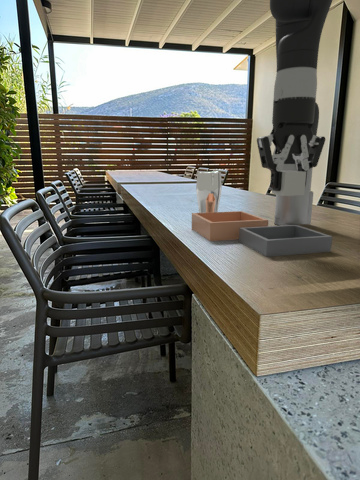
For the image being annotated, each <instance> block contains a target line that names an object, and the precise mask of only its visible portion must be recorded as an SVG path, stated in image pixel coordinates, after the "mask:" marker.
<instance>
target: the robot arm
mask: <svg viewBox="0 0 360 480" xmlns="http://www.w3.org/2000/svg"><path fill="white" fill-rule="evenodd" d="M332 3H333V0H269V9H270V13H271V15H272V17H273V19H274V20H275V51H276V52H275V55H276V74H275V75H276V76H275V81H274V86H273V87H274V88H273V103H272V107H273V108H272V118H271V119H272V120H271V123H272V130H271V132H270V134H268V135H264V136H259V137H257V138H256V144H257V149H258V153H259V159H260V163H261V167H262V168H265V169H267V170H269V171H270V188H271V191H272V190H273V191H280V190H281V181H282V172H280V171H305V172H306V181H305V193H304V195H295V196H281V195H277V194H275V203H274V204H275V207H274V217H273V218H274V222H273V223H274V224H275V225H276V226H284V225H298V226H299V225H308V226H309V225H310V226H311V225H312V224H311V222H312V213H313V203H314V191H312V189H311V188H312V180H313V179H312V177H313V168H316V167H317V166H318V164H319V161H320V159H321V155H322V152H323V148H324V145H325V143H326V137H325V136H319V135H318V136H317V134H318V128H319V120H320V107H319V104H318V102H316V99H317V91H318V90H317V89H318V62H319V61H318V60H319V59H318V58H319V51H320V49H319V48H320V42H321V37H322V32H323V29H324V26H325V22H326V19H327V16H328V14H329V11H330V8H331V7H332ZM272 143H273V144H272ZM272 145H274V150H273V153H272V150H271V148H272V147H271V146H272Z"/></svg>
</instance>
